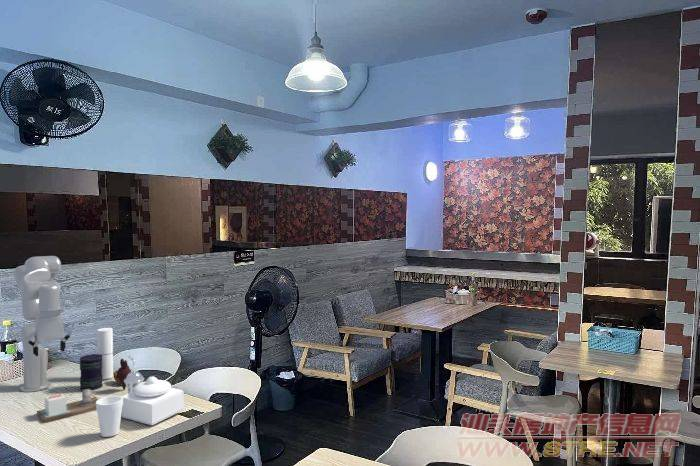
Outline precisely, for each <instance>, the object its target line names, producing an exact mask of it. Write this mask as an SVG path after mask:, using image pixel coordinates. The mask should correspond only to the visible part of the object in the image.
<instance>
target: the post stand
mask: <svg viewBox="0 0 700 466" xmlns="http://www.w3.org/2000/svg"><path fill="white" fill-rule="evenodd" d="M81 391H82V392H81V393H82V394H81V395H82V396H81V397H82V400H77V401H73V402H69V403H66V412H62V413H58V414H54V415H50V416H49V415H48V414H47V413H46V412H45V408H44V409H40V410H36V415H37V416H38V417H39V419H40V420H41V421H42V422H43V424H48V423H51V422H52V423H53V422H55V421H59V420H62V419H66V418H71V417H74V416H78V415H82V414H86V413H89V412H94V411H97V410H96V401H97V400H98V399H99V398H98V397H96V396H93V397H91V396H92V395H91V391H92V390H90V389H85V390H81Z"/></svg>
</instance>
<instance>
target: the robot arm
mask: <svg viewBox="0 0 700 466" xmlns="http://www.w3.org/2000/svg"><path fill="white" fill-rule="evenodd" d="M61 271H62V262H61V260H60V258H59V257H58V256H56V255H45V256H44V255H43V256H42V255H41V256H39V255H38V256H32V257H29V258H27V260H25V262H24V264H23V265H19V266H17V267H15V269H14V271H13V276H14V280H15V283H16V286H17V287H18V289H19V291H20V296H21V308H22V316H23V319H24V320H25V321H35V322H30V323H27V324H24V325H23V326H22V327H21V328H20V333H19V334H20V339H21V344H22V345H21V346H22V361H23V362H22V366H23V368H22V369H23V373H22V374H23V384H22V385H21V386H20V387H19V391H21V392H24V393H32V392H33V393H34V392H39V391H40V392H41V391H43V390H45V389H48V388H49V387H50V386H51V384H52V383H51V381H48V369H47V368H48V364H47V363H48V361H47V357H48V355H47V349H46V348H45V346H44V345H42V344H41V343H43V342H50V341H56V340H60V343H59V344H60V345H59V349H60V352H65V349H66V342H67V341H68V339H70V338H71V335H72V333H73V330H71V329H69V328H65V327H64V323H63V315H62V314H63V313H64V309H62V307H61V303H60V302H61V301H60V295H61V293H62V292H61V290H62V288H61V284H60V283H59V282H58V281H55V280H56V279H57V277H58V276H59V274H60V273H61ZM65 332H66V333H67V334H66V335H64V333H65Z"/></svg>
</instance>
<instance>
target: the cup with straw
mask: <svg viewBox="0 0 700 466" xmlns="http://www.w3.org/2000/svg"><path fill="white" fill-rule="evenodd" d="M128 358H129V359H130V360H131V361H132V362H133V363H132V365H133V367H132V368H133V371H131V372H130V373H129V374H128V375H127V377H126V379H124V383H126V391H127V392H126V393H127V394H129V393H132V392H134V388H135V387H136V386H137V385H139V384H140V383H143V382H145V377H144V376H143V375H142V373H141V372H139V371H136V360H135V359H134V358H133V357H132V356H131V355H129V356H128Z"/></svg>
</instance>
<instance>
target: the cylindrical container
mask: <svg viewBox="0 0 700 466" xmlns="http://www.w3.org/2000/svg"><path fill="white" fill-rule="evenodd" d="M96 331H97V332H96V333H97V334H96V335H97V337H96V339H97V340H96V341H97V342H96V343H97V345H96V346H97V351H96V352H97V354H100V355H102V365H103V366H102V376H103V377H102V378H103V380H109V379H111V378H114V375H113V373H114V344H113V343H114V340H113V339H114V336H113V331H114V329H113V328H112V327H101V328H98V329H97V330H96Z"/></svg>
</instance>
